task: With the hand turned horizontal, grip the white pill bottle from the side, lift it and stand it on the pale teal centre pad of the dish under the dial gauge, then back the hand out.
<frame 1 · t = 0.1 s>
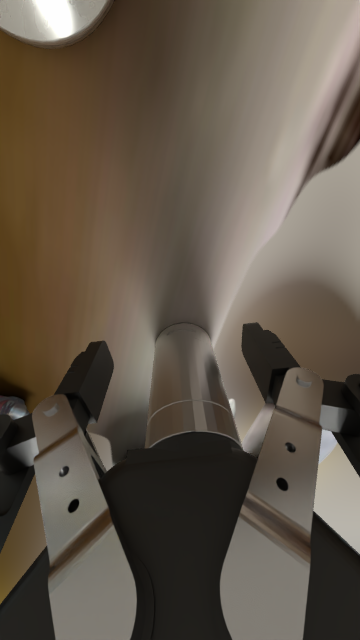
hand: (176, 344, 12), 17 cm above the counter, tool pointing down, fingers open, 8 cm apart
grey and red figurine: (10, 406, 39), on the counter
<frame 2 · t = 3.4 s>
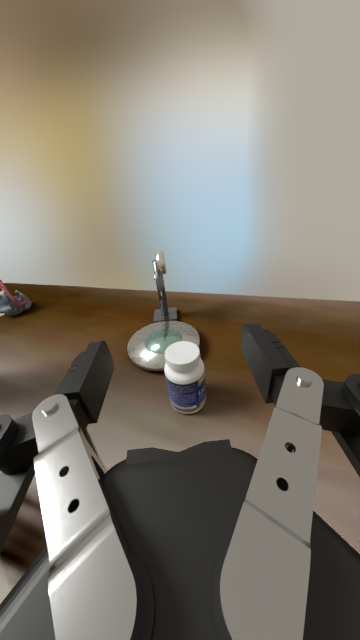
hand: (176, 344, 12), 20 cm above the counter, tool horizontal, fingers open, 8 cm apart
dish: (164, 347, 43), on the counter
grey and red figurine: (16, 311, 67), on the counter
dial stand: (165, 317, 53), on the counter
pill bottle: (188, 399, 32), on the counter
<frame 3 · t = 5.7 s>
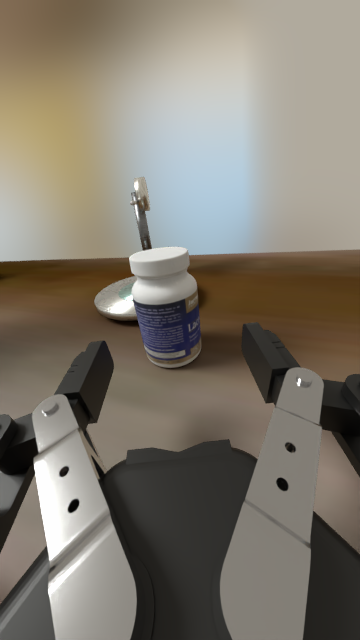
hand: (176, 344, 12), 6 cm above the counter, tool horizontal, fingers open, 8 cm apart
dish: (147, 300, 32), on the counter
dial stand: (152, 275, 43), on the counter
pill bottle: (174, 351, 21), on the counter
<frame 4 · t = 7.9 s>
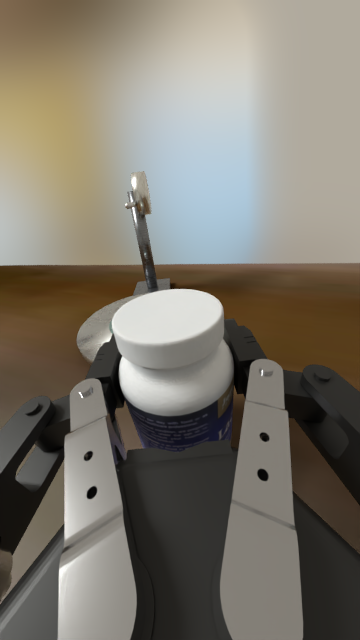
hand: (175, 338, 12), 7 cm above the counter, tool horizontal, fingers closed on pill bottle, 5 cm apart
dish: (147, 332, 25), on the counter
dial stand: (153, 291, 35), on the counter
pill bottle: (188, 438, 14), on the counter, touching gripper
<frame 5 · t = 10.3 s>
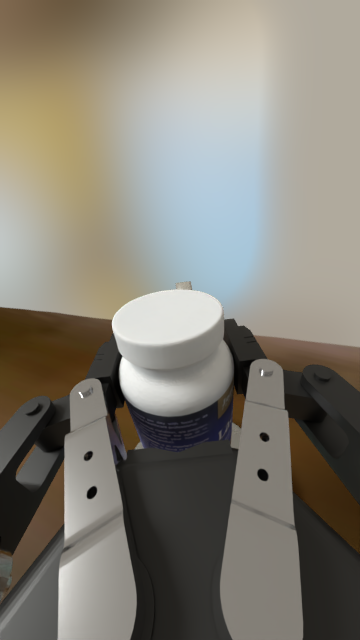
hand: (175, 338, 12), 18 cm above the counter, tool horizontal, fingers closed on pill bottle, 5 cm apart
pill bottle: (188, 438, 14), point 11 cm above the counter, touching gripper
when the fingers open (9 cm above the counter, at t = 12.8 s): pill bottle stays where it is, resting on dish.
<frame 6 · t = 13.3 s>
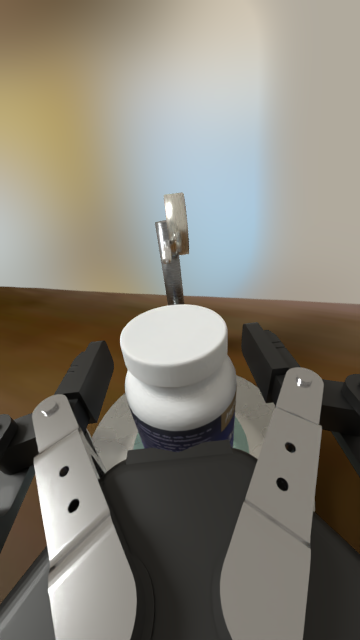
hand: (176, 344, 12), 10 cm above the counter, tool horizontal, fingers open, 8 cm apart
dish: (191, 457, 15), on the counter
dial stand: (182, 349, 26), on the counter
pill bottle: (190, 446, 14), point 2 cm above the counter, touching dish
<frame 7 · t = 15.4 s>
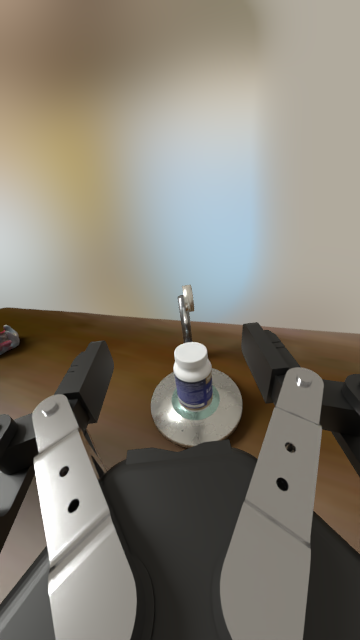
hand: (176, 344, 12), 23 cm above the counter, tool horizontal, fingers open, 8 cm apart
dish: (196, 405, 35), on the counter
grey and red figurine: (2, 349, 59), on the counter
dial stand: (190, 357, 45), on the counter
pill bottle: (195, 398, 33), point 2 cm above the counter, touching dish
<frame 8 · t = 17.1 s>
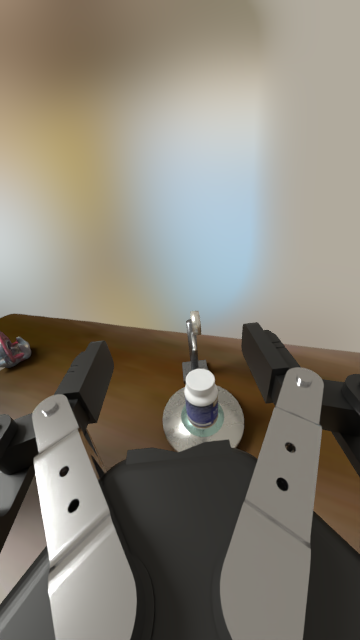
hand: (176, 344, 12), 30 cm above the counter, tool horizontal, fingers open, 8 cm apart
dish: (202, 421, 39), on the counter
grey and red figurine: (15, 359, 62), on the counter
dial stand: (195, 372, 49), on the counter
pill bottle: (202, 416, 38), point 2 cm above the counter, touching dish
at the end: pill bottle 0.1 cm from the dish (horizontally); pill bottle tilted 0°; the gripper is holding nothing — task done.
